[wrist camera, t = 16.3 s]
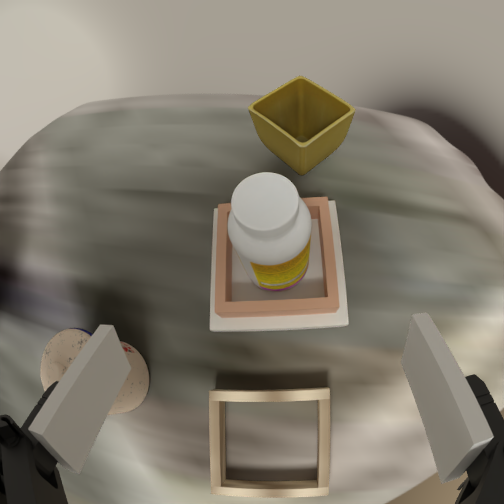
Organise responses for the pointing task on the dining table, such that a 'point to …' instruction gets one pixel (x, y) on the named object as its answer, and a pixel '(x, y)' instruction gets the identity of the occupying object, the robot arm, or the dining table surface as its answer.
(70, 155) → the dining table surface
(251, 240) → the supplement bottle
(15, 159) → the dining table surface
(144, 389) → the teacup with lid
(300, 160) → the flower pot
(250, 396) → the holder ring
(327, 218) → the plate
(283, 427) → the dining table surface
